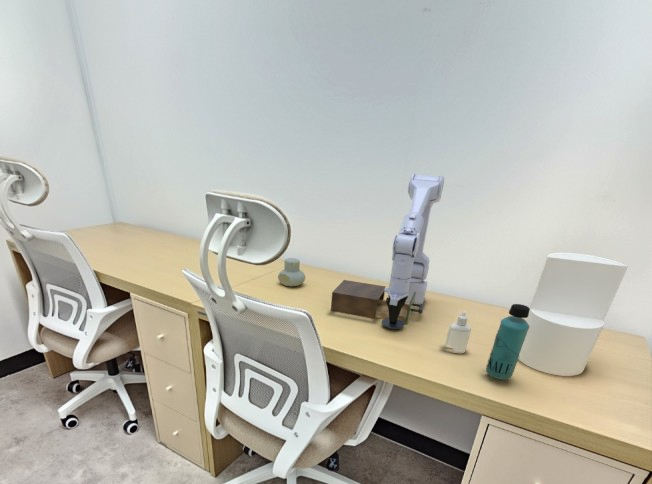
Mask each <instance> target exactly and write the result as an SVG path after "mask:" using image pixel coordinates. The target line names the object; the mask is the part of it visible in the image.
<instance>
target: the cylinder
mask: <svg viewBox="0 0 652 484" xmlns="http://www.w3.org/2000/svg"><path fill="white" fill-rule="evenodd" d="M628 268H629V266H628V265H626V264H624V263H623V262H619V261H618V260H614V259H612V258H611V259H610V258H606V257H604V256H603V257H602V256H597V255H592V254H586V253H580V252H579V253H578V252H566V251H565V252H563V251H562V252H561V251H559V252H551V253H549V254H547V256H546V259H545V261H544V265H543V267H542V271H541V273H540V276H539V279H538V281H537V285H536V288H535V291H534V293H533V296H532V299H531V302H530V305H529V308H530V310H529V315H528V317H527V318H525V320H526V322H527V323H528V324H529V329H528V332H527V334H526V337H525V340H524V343H523V346H522V348H521V351H520V354H519V356H520V357H518V361H519V362H521V363H523V364H524V365H526V366H528V367H530V368H532V369H534V370H537V371H539V372H541V373H546V374H550V375H555V376H560V377H572V376H578V375H580V374H582V373H583V372H584V370H585V368H586V366H587V364H588V361H589V359H590V357H591V355H592V352H593V350H594V348H595V346H596V345H597V341H598V339H599V338H600V335H601V333H602V332H603V331H602V330H603V328H604V327H605V325H606V324H605V319H606V316H607V315H608V312H609V310H610V308H611V305H612V303H613V301H614V299H615V297H616V294H617V292H618V289H619V288H620V286H621V284H622V281H623V279H624V276H625V275H626V272H627V270H628Z"/></svg>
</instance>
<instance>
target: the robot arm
mask: <svg viewBox="0 0 652 484" xmlns="http://www.w3.org/2000/svg"><path fill="white" fill-rule="evenodd" d="M444 185H445V177H444V175H430V174H429V175H428V174H416V173H413V174H412V175H411V176H410V178H409V182H408V186H407V187H408V188H407V194H408V196H409V198H410V200H411V204H410V210H409V212H408V213H406V214H405V215H404V217H403V220H402V223H401V226H400V228H399V232H398V234H395V237H394V238H393V243H392V256H391V261H392V264H391V265H392V266H391V271H390V278H389V285H388V287H385V290H384V292H385V293H387V294H388V297H386V299H385V300H386V303H387V306H388V310H389V321H394V322H396V321H397V319H398V317H399V314H400V311H401V309H402V307H403V306H404V304H409V303H410V301H411V298H412V296H413V294H414V292H416V296H415V302H414V304H420V305H421V304H424V303H425V302H426V293H427V288H428V281H425V280H426V279H427V277H428V273H429V268H430V261H431V259H430V257H429V256H428V255H427V254H426V253H425V252H424V249H425V243H426V237H427V232H428V227H429V221H430V216H431V210H432V207H433V206H434V204H436V203H439V202H440V200H441V199H442V193H443V189H444Z"/></svg>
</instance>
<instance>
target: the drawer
mask: <svg viewBox="0 0 652 484" xmlns="http://www.w3.org/2000/svg"><path fill="white" fill-rule="evenodd" d="M415 296H416V292H414V294H413V296H412V298H411V301H410V303H405V304H404V306H403V307H402V309H401V311H400V314H399V317H398V320H401V321H403V322H404V324H405V325H408V324H409V321H410V318H411V316H412V313H413V312H414V313H418V314H419V315H422V314H423V312H424V309H425V307H426V306H425V304H424V303H423V304H417V303H414V302H415ZM415 307H417V308H418V309H417V308H415ZM375 318H377V319H382V320H383V319H386V318H389V310H388V306H387V303H386V299H384V300H380V299H378V301H377V308H376V315H375Z"/></svg>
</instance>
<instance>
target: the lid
mask: <svg viewBox="0 0 652 484" xmlns="http://www.w3.org/2000/svg"><path fill="white" fill-rule="evenodd" d="M380 323H381V325H382V326H383V327H385V328H387V329H391V330H400V329H403V328H404V327H405V325H406V324H405V323H404V322H403V321H401V320H398V319H397V321H396V322H394V321H389V318H386V319H382V320H381V322H380Z"/></svg>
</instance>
